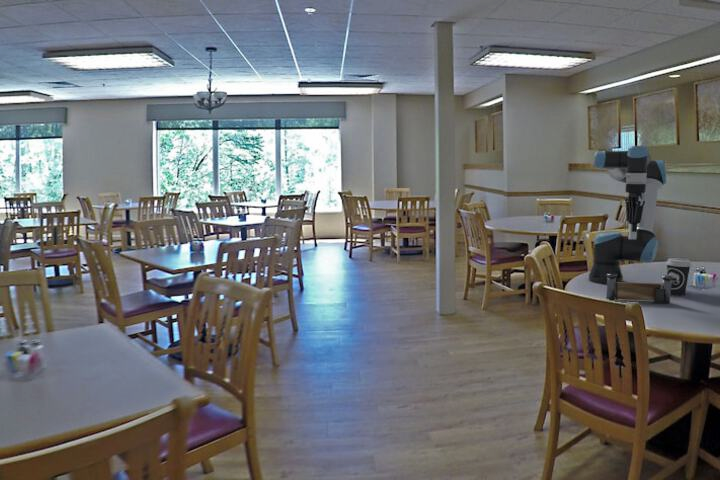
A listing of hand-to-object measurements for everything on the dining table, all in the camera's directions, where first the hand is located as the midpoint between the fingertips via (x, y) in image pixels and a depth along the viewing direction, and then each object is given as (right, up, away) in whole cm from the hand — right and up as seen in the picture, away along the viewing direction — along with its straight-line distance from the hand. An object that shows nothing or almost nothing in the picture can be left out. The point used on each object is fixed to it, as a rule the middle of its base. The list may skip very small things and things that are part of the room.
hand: (632, 238), depth 235 cm
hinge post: (-11, -25, -4) cm, 28 cm away
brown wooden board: (-1, -25, -6) cm, 26 cm away
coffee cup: (+21, -24, +4) cm, 32 cm away
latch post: (+8, -26, -9) cm, 28 cm away
